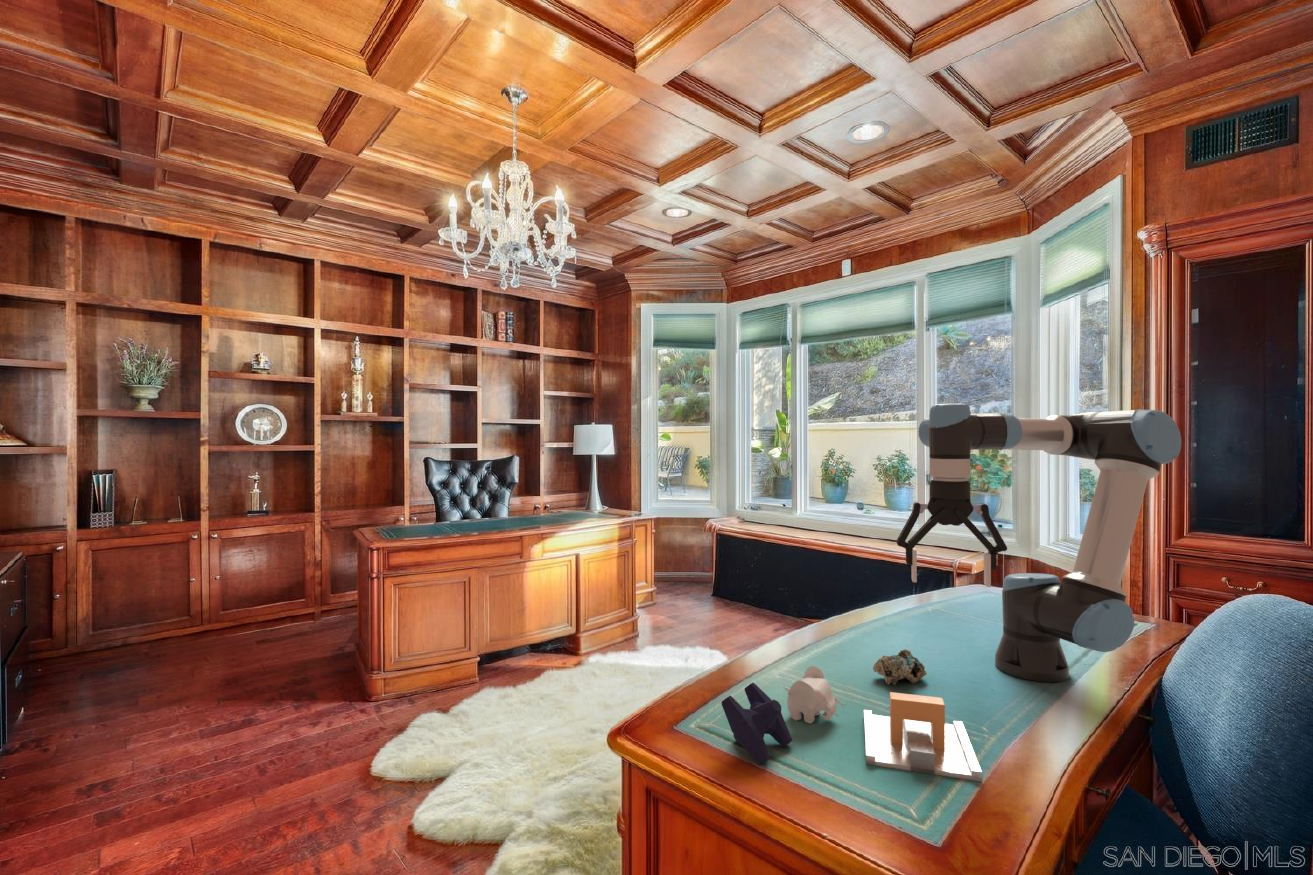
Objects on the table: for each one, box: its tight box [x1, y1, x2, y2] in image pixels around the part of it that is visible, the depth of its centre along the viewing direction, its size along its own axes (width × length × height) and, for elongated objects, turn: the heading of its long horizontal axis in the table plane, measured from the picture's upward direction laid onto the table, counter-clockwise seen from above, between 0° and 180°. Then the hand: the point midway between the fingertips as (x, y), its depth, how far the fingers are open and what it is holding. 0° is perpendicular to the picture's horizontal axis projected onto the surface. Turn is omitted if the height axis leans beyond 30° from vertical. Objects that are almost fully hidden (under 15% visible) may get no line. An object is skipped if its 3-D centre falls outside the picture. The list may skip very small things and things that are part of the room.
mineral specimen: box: [872, 649, 927, 686], centre depth 140 cm, size 12×9×8 cm
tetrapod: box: [720, 682, 793, 765], centre depth 110 cm, size 11×12×11 cm
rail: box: [863, 709, 983, 782], centre depth 110 cm, size 18×18×4 cm
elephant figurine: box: [782, 665, 845, 724], centre depth 122 cm, size 10×12×9 cm
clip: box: [889, 691, 946, 749], centre depth 111 cm, size 9×3×8 cm, turn 73°
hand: (950, 583), depth 123 cm, fingers open, 13 cm apart
